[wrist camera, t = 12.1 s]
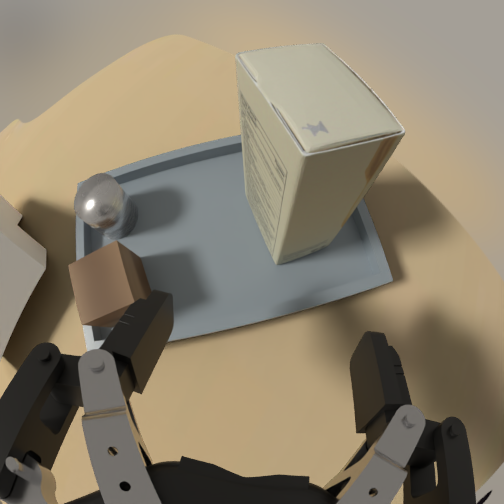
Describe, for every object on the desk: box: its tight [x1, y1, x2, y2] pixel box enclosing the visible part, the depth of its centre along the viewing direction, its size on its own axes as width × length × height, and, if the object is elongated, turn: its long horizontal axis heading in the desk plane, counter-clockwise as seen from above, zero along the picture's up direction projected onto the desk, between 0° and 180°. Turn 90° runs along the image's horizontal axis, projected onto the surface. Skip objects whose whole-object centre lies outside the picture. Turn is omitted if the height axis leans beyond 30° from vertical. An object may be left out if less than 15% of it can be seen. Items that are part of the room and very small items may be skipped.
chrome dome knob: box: [74, 173, 138, 240], centre depth 18 cm, size 4×4×4 cm
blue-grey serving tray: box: [76, 135, 393, 352], centre depth 20 cm, size 22×14×3 cm, turn 104°
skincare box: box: [235, 43, 405, 265], centre depth 14 cm, size 6×4×12 cm
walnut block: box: [68, 240, 152, 328], centre depth 16 cm, size 4×4×4 cm
